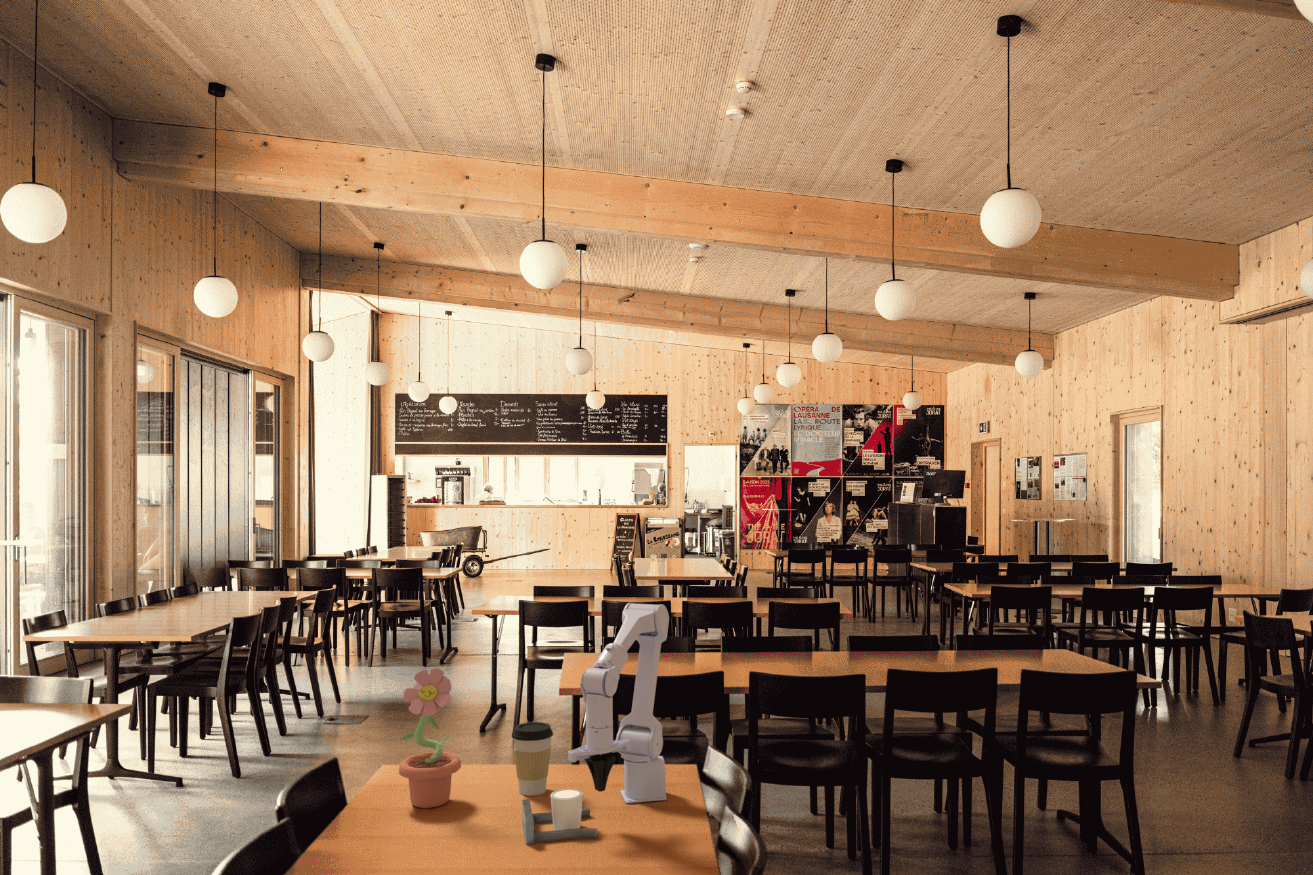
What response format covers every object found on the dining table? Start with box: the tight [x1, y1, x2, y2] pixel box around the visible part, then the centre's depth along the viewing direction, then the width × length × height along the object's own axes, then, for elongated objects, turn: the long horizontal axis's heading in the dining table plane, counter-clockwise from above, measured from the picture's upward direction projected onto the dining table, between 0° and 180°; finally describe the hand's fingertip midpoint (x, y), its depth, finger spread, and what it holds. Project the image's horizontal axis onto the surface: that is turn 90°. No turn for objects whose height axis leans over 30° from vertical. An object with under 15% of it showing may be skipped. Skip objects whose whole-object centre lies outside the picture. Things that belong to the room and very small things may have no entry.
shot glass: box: [549, 788, 584, 831], centre depth 186 cm, size 7×7×7 cm
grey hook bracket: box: [521, 798, 598, 845], centre depth 185 cm, size 15×14×4 cm
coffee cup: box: [511, 721, 554, 797], centre depth 209 cm, size 10×10×15 cm
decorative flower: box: [398, 668, 462, 809], centre depth 203 cm, size 15×14×30 cm
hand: (600, 789), depth 187 cm, fingers closed
